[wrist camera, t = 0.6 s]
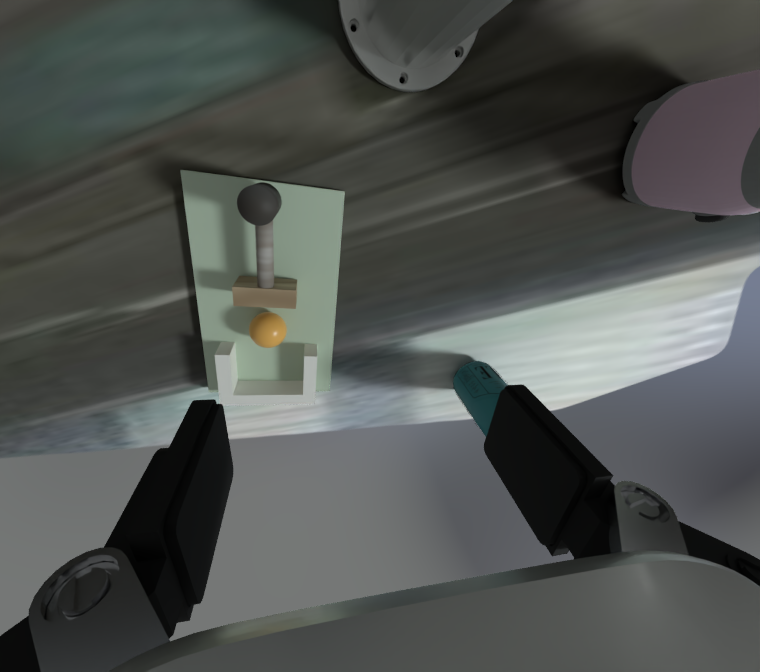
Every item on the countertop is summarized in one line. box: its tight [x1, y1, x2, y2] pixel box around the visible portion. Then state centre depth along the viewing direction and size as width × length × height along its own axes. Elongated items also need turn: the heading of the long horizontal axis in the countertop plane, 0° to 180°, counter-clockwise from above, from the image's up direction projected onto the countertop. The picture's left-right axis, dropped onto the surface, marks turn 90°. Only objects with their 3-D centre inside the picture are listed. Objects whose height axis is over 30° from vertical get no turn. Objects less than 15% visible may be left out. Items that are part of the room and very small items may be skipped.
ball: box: [249, 312, 287, 348], centre depth 36 cm, size 4×4×4 cm
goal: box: [215, 342, 317, 406], centre depth 39 cm, size 7×11×3 cm, turn 83°
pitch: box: [180, 170, 345, 392], centre depth 37 cm, size 25×15×1 cm, turn 173°
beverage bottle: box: [453, 361, 508, 436], centre depth 40 cm, size 6×7×20 cm
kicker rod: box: [232, 182, 297, 309], centre depth 30 cm, size 12×6×7 cm, turn 173°
